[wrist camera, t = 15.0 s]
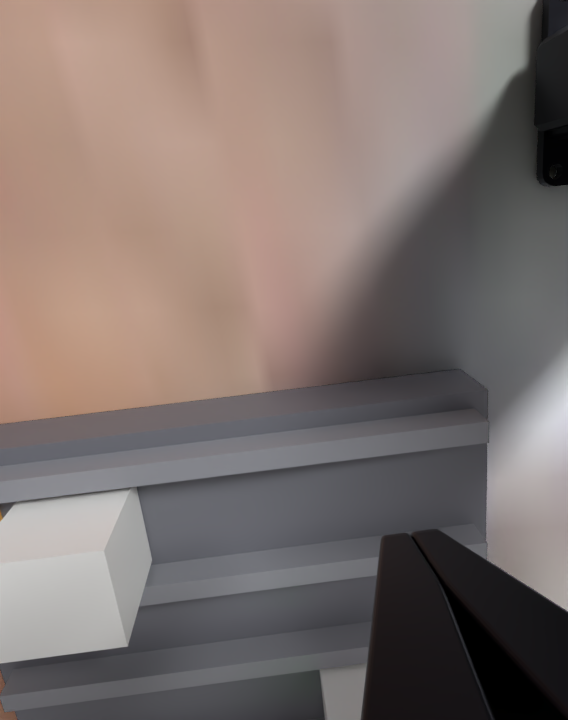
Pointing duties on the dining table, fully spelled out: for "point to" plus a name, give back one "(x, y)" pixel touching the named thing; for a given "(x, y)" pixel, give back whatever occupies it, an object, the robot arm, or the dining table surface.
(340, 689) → the pale grey cube
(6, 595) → the white cube
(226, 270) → the dining table surface
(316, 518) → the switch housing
